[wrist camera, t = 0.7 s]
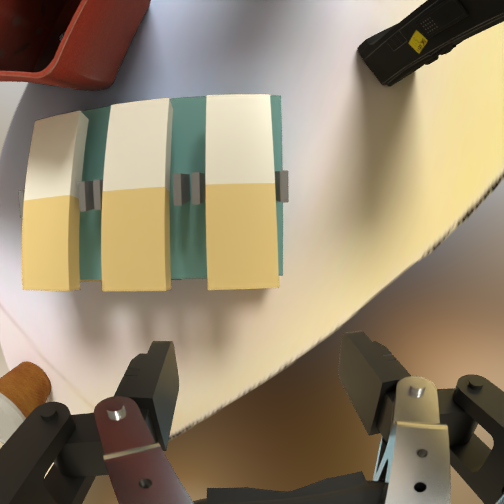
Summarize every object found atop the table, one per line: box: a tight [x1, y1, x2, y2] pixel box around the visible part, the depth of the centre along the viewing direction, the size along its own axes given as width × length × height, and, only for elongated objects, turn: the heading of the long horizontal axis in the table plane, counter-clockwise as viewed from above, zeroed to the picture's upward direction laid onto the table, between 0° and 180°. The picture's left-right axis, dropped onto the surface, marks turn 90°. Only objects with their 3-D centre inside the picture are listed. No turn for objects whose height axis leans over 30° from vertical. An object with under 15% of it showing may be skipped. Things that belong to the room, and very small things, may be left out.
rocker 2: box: [101, 98, 173, 291], centre depth 23 cm, size 15×5×2 cm, turn 1°
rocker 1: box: [22, 111, 89, 291], centre depth 23 cm, size 15×5×2 cm, turn 1°
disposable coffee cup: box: [0, 362, 51, 444], centre depth 31 cm, size 10×10×12 cm
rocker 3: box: [206, 94, 279, 290], centre depth 24 cm, size 15×5×2 cm, turn 1°
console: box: [19, 95, 288, 281], centre depth 28 cm, size 17×24×10 cm
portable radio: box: [358, 0, 504, 86], centre depth 19 cm, size 8×6×25 cm
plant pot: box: [0, 0, 151, 91], centre depth 20 cm, size 19×19×17 cm
